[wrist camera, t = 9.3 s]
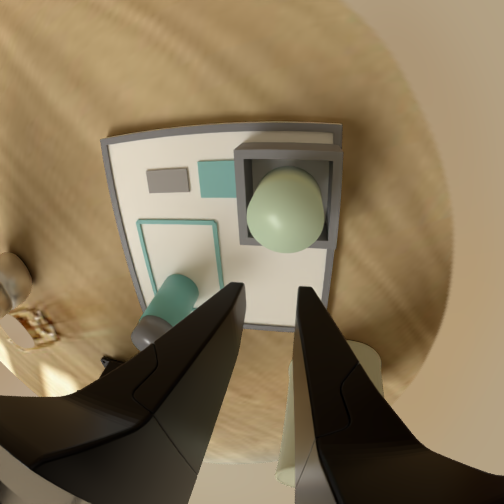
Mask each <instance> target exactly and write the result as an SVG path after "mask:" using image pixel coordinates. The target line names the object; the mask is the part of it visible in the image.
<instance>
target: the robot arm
mask: <svg viewBox="0 0 504 504" xmlns="http://www.w3.org/2000/svg"><path fill="white" fill-rule="evenodd" d="M245 314H246V292H245V284H244V283H242V282H230V283H229V284H227V285H226V286H225V287H223V288H222V289H221V290H220V291H218V292H217V293H216V294H214V295H213V296H212V297H211V298H209V299H208V300H207V301H206V302H204V303H203V304H202V305H200V306H199V307H198V308H197V309H195V310H194V311H193V312H191V313H190V314H189V315H188V316H186V317H185V318H184V319H182V320H181V321H180V322H179V323H177V324H176V325H175V326H173V327H172V328H171V329H170V330H168V331H167V332H166V333H164V334H163V335H162V336H160V337H159V338H158V339H157V340H155V341H154V343H151V344H150V345H149V346H147V347H146V348H145V349H143V350H142V351H141V352H139V353H138V354H137V355H135V356H134V357H132V358H131V359H130V360H128V361H127V362H125V363H122V362H118V361H115V360H111V359H108V358H104V357H102V359H101V362H102V364H103V365H104V367H105V369H104V371H103V372H102V374H101V376H100V377H99V379H98V380H96V381H94V382H93V383H91V384H89V385H88V386H86V387H84V388H83V389H81V390H77V392H75V393H72V394H70V395H66V396H61V397H21V396H2V395H0V504H188V501H189V498H190V496H191V493H192V490H193V487H194V484H195V481H196V479H197V475H198V473H199V470H200V467H201V464H202V461H203V458H204V455H205V452H206V450H207V447H208V444H209V441H210V438H211V435H212V432H213V429H214V426H215V423H216V420H217V417H218V414H219V411H220V408H221V405H222V402H223V399H224V396H225V393H226V390H227V387H228V384H229V381H230V378H231V375H232V372H233V369H234V366H235V362H236V359H237V356H238V352H239V347H240V342H241V336H242V331H243V325H244V319H245ZM293 388H294V425H295V504H504V476H502V475H494V474H491V473H487V472H484V471H481V470H479V469H476V468H473V467H470V466H468V465H465V464H463V463H460V462H457V461H455V460H452V459H450V458H447V457H445V456H442V455H440V454H437V453H436V452H433V451H431V450H430V449H428V448H426V447H425V446H424V445H423V444H422V443H420V442H419V441H418V440H417V439H416V437H415V436H414V435H413V434H412V433H411V431H410V430H409V429H408V428H407V426H406V425H405V424H404V423H403V421H402V420H401V419H400V418H399V416H398V415H397V414H396V413H395V411H394V410H393V409H392V408H391V406H390V405H389V404H388V403H387V401H386V400H385V399H384V397H383V396H382V395H381V394H380V392H379V391H378V390H377V388H376V387H375V385H374V384H373V382H372V381H371V379H370V378H369V376H368V375H367V373H366V371H365V370H364V368H363V366H362V365H361V364H360V363H359V360H358V359H357V357H356V355H355V354H354V352H353V350H352V349H351V347H350V346H349V344H348V342H347V341H346V339H345V338H344V336H343V334H342V333H341V331H340V330H339V328H338V326H337V325H336V323H335V322H334V320H333V319H332V317H331V315H330V314H329V312H328V311H327V309H326V308H325V306H324V304H323V303H322V301H321V300H320V298H319V297H318V295H317V294H316V292H315V291H314V289H313V288H312V287H309V286H299V287H298V292H297V305H296V319H295V332H294V345H293Z"/></svg>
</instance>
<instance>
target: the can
mask: <svg viewBox="0 0 504 504" xmlns="http://www.w3.org/2000/svg"><path fill="white" fill-rule="evenodd" d="M346 341H347V342H348V344H349V346H350V347H351V349H352V350H353V352H354V354H355V355H356V357H357V359H358V360H359V363H360V364H361V365H362V366H363V368H364V370H365V371H366V373H367V375H368V376H369V378H370V379H371V381H372V382H373V384H374V385H375V387H376V388H377V390H378V391H379V392H380V394H381V395H382V396H383V397H384V392H383V384H382V375H381V359H380V357H379V355H378V353H377V352H376V351H375V350H374V349H373V348H371V347H370V346H368V345H366V344H363V343H360V342H356V341H351V340H346ZM275 478H276V480H277V481H278V482H280V483H282V484H284V485H287V486H290V487H295V425H294V388H293V360H292V361H291V363H290V365H289V387H288V397H287V405H286V413H285V421H284V428H283V435H282V442H281V448H280V454H279V460H278V465H277V470H276V473H275Z"/></svg>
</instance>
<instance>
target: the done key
mask: <svg viewBox="0 0 504 504" xmlns="http://www.w3.org/2000/svg"><path fill="white" fill-rule="evenodd" d="M247 224H248V227H249V230H250V232H251V234H252V235H253V237H254V238H255V239H256V240H257V241H258V242H259V243H260V244H261V245H262V246H264V247H266V248H267V249H269V250H272V251H275V252H279V253H295V252H299V251H302V250H304V249H306V248H308V247H309V246H311V245H312V244H313V243H314V242H315V241H316V240H317V239H318V237H319V236H320V234H321V232H322V230H323V226H324V211H323V203H322V196H321V190H320V187H319V185H318V183H317V181H316V180H315V178H314V177H313V176H312V175H311V174H310V173H308V172H307V171H305V170H303V169H301V168H298V167H294V166H282V167H278V168H275V169H273V170H271V171H269V172H268V173H267V174H266V175H265V176H264V177H263V178H262V179H261V181H260V183H259V185H258V187H257V189H256V191H255V193H254V195H253V197H252V199H251V201H250V203H249V205H248V209H247Z"/></svg>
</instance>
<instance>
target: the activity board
mask: <svg viewBox="0 0 504 504" xmlns="http://www.w3.org/2000/svg"><path fill="white" fill-rule="evenodd" d="M100 143H101V149H102V155H103V161H104V167H105V172H106V177H107V183H108V188H109V192H110V197H111V202H112V206H113V211H114V215H115V219H116V223H117V227H118V231H119V235H120V239H121V243H122V246H123V250H124V254H125V257H126V261H127V264H128V268H129V271H130V274H131V278H132V281H133V284H134V287H135V290H136V293H137V296H138V299H139V302H140V305H141V308H142V311H143V313H144V312H145V310H146V309H147V307H148V306H149V304H150V302H151V301H152V299H153V298H154V296H155V295H156V293H157V292H158V290H159V289H160V287H161V286H162V284H163V283H164V281H165V280H166V278H167V277H168V276H170V275H173V274H180V275H184V276H186V277H188V278H190V279H191V280H192V281H193V282H194V283H195V284H196V286H197V288H198V291H199V296H198V299H197V301H196V303H195V305H194V307H193V309H192V311H191V312H193V311H194V310H195V309H197V308H198V307H199V306H200V305H202V304H203V303H204V302H206V301H207V300H208V299H209V298H211V297H212V296H213V295H214V294H216V293H217V292H218V291H220V290H221V289H222V288H223V287H225V286H226V285H227V284H229V283H230V282H242V283H244V284H245V292H246V314H245V319H244V325H243V328H244V329H255V330H267V331H280V332H295V319H296V305H297V292H298V287H299V286H309V287H312V288H313V289H314V291H315V292H316V294H317V295H318V297H319V298H320V300H321V301H322V303H323V304H324V306H325V308H326V309H327V304H328V297H329V290H330V283H331V275H332V267H333V258H334V249H336V245H337V235H338V225H339V214H340V201H341V187H342V171H343V151H342V124H338V123H320V122H283V121H271V122H233V123H216V124H202V125H191V126H181V127H172V128H163V129H155V130H148V131H141V132H135V133H129V134H123V135H117V136H112V137H106V138H103V139H100ZM282 166H294V167H298V168H301V169H303V170H305V171H307V172H308V173H310V174H311V175H312V176H313V177H314V178H315V180H316V181H317V183H318V185H319V187H320V190H321V196H322V203H323V211H324V226H323V230H322V232H321V234H320V236H319V237H318V239H317V240H316V241H315V242H314V243H313V244H312V245H311V246H309V247H308V248H306V249H304V250H302V251H299V252H295V253H279V252H275V251H272V250H269V249H267V248H266V247H264V246H262V245H261V244H260V243H259V242H258V241H257V240H256V239H255V238H254V237H253V235H252V234H251V232H250V230H249V227H248V224H247V209H248V205H249V203H250V201H251V199H252V197H253V195H254V193H255V191H256V189H257V187H258V185H259V183H260V181H261V179H262V178H263V177H264V176H265V175H266V174H267V173H268V172H269V171H271V170H273V169H275V168H278V167H282Z"/></svg>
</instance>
